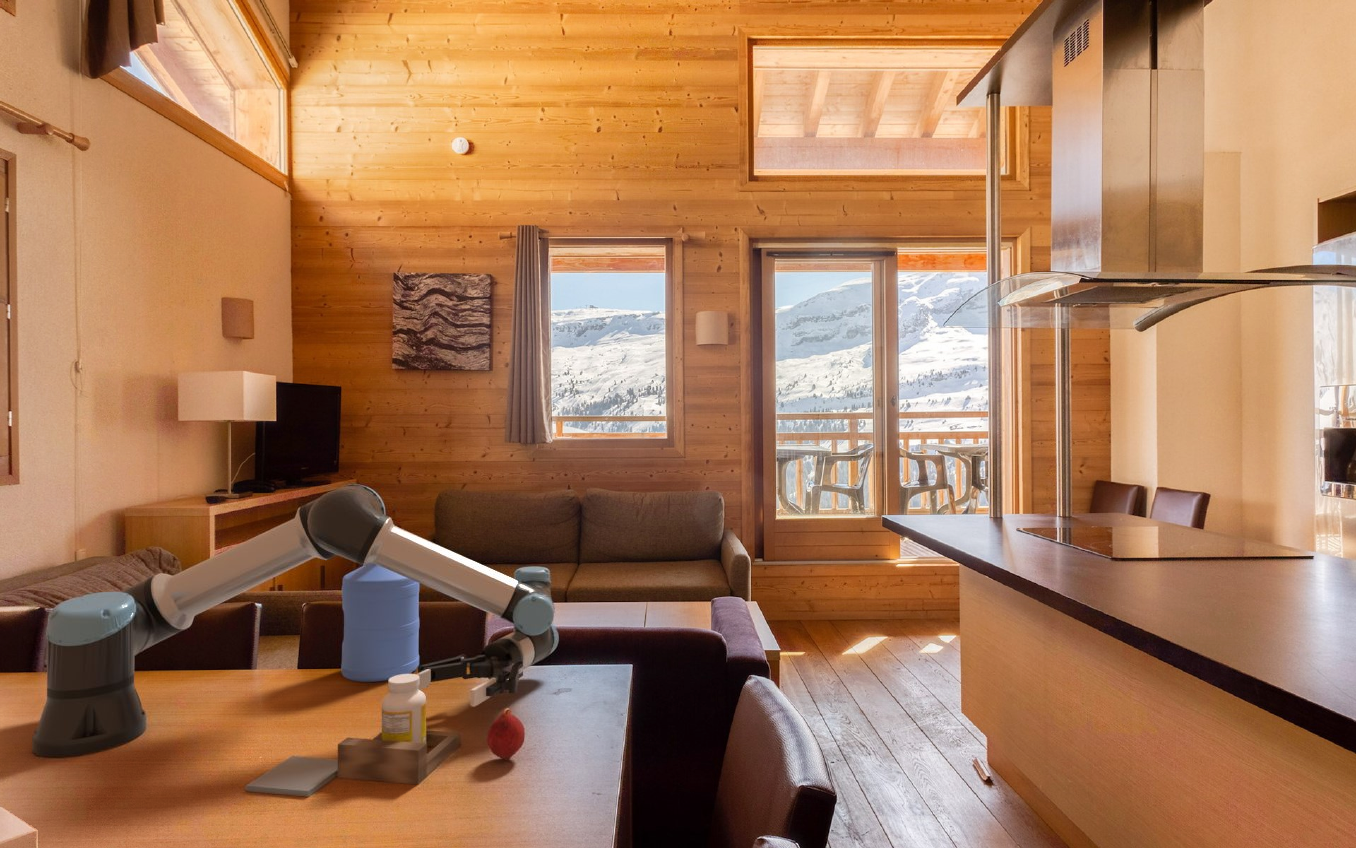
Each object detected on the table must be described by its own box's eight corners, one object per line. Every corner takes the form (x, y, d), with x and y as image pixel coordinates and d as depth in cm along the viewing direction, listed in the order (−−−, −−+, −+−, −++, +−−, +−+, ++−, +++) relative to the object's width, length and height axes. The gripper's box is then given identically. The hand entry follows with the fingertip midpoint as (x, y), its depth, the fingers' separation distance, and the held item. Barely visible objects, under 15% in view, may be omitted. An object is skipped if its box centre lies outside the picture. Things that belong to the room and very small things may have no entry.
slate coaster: (245, 791, 108) (245, 785, 108) (292, 761, 118) (292, 755, 118) (308, 797, 106) (308, 791, 106) (350, 765, 116) (350, 760, 116)
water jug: (434, 667, 164) (435, 539, 164) (371, 688, 151) (372, 549, 151) (388, 656, 172) (389, 534, 172) (325, 675, 159) (326, 543, 159)
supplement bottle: (411, 746, 123) (412, 668, 123) (434, 758, 119) (434, 677, 119) (373, 760, 118) (373, 679, 118) (395, 773, 114) (395, 688, 114)
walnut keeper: (337, 777, 112) (337, 744, 112) (388, 739, 126) (388, 709, 126) (418, 784, 110) (418, 750, 110) (460, 745, 124) (461, 714, 124)
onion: (515, 769, 115) (515, 717, 115) (480, 766, 116) (480, 714, 116) (530, 753, 121) (530, 704, 121) (497, 750, 122) (497, 701, 122)
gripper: (563, 683, 142) (502, 725, 122) (452, 669, 150) (377, 706, 130) (563, 644, 142) (502, 679, 122) (452, 632, 150) (377, 663, 130)
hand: (437, 693), depth 126 cm, fingers open, 13 cm apart
